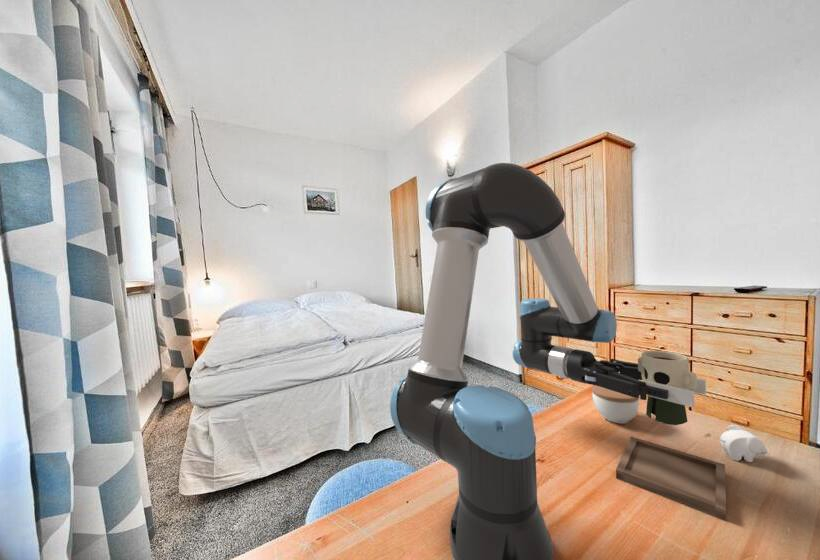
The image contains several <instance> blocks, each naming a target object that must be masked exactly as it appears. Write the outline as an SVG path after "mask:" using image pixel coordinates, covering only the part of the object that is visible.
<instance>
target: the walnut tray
mask: <svg viewBox="0 0 820 560" xmlns="http://www.w3.org/2000/svg"><path fill="white" fill-rule="evenodd" d="M615 478H616V479H617V480H620V481H622V482H625V483H629V484H630V485H632V486H635V487H638V488H640V489H643V490H646V491H648V492H651V493H653V494H656V495H659V496H661V497H663V498H666V499H669V500H671V501H674V502H677V503H678V504H682V505H683V506H687V507H688V508H691V509H695V510H697V511H700V512H702V513H705V514H706V515H710V516H712V517H715V518H718V519H720V520H723V521H725V522H727V501H726V500H727V499H726V497H727V495H726V464H725V463H721V462H717V461H715V460H712V459H709V458H705V457H701V456H697V455H695V454H690V453H687V452H684V451H681V450H677V449H674V448H670V447H667V446H664V445H661V444H658V443H654V442H651V441H648V440H647V441H646V440H644V439H640V438H637V437H633V436H630V439H629V441H628V443H627V445H626V447H625V449H624V451H623V454H622V456H621V457H620V459H619V462H618V464H617V466H616V469H615Z"/></svg>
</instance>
